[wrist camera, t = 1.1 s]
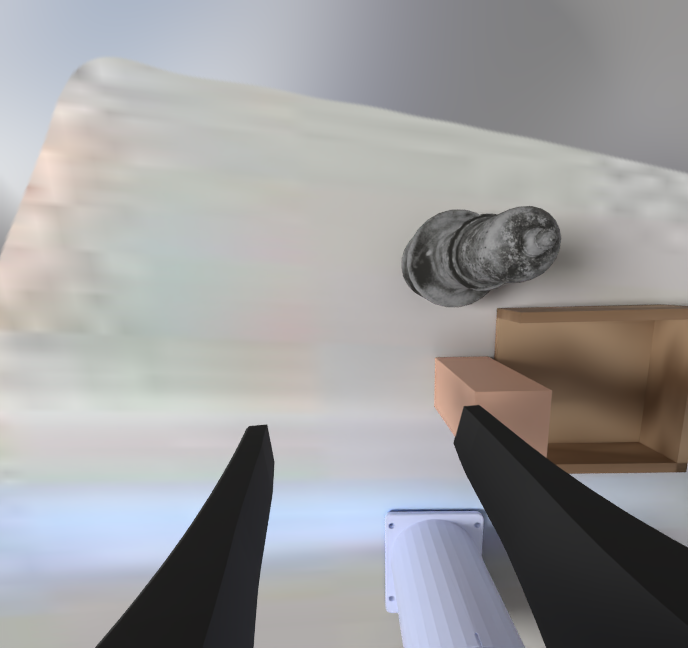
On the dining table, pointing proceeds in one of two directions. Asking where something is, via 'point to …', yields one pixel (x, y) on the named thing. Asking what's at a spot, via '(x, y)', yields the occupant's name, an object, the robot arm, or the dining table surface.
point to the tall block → (493, 396)
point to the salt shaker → (478, 253)
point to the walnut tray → (606, 382)
